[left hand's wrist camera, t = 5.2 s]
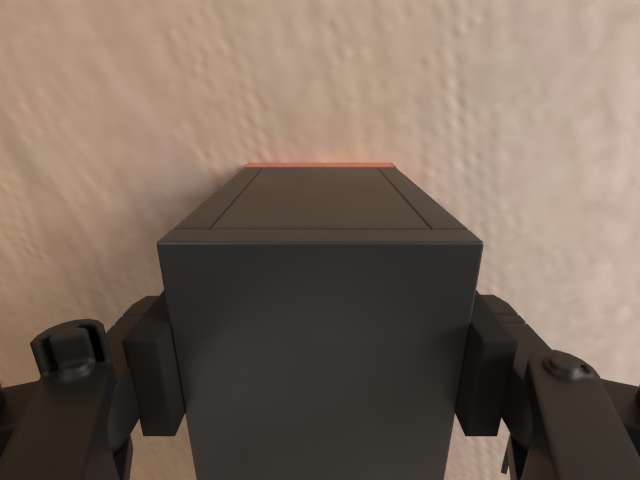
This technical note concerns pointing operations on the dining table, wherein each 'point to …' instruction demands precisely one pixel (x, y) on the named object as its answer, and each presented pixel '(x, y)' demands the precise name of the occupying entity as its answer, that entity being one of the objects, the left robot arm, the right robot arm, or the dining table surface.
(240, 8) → the dining table surface
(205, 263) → the cabinet
